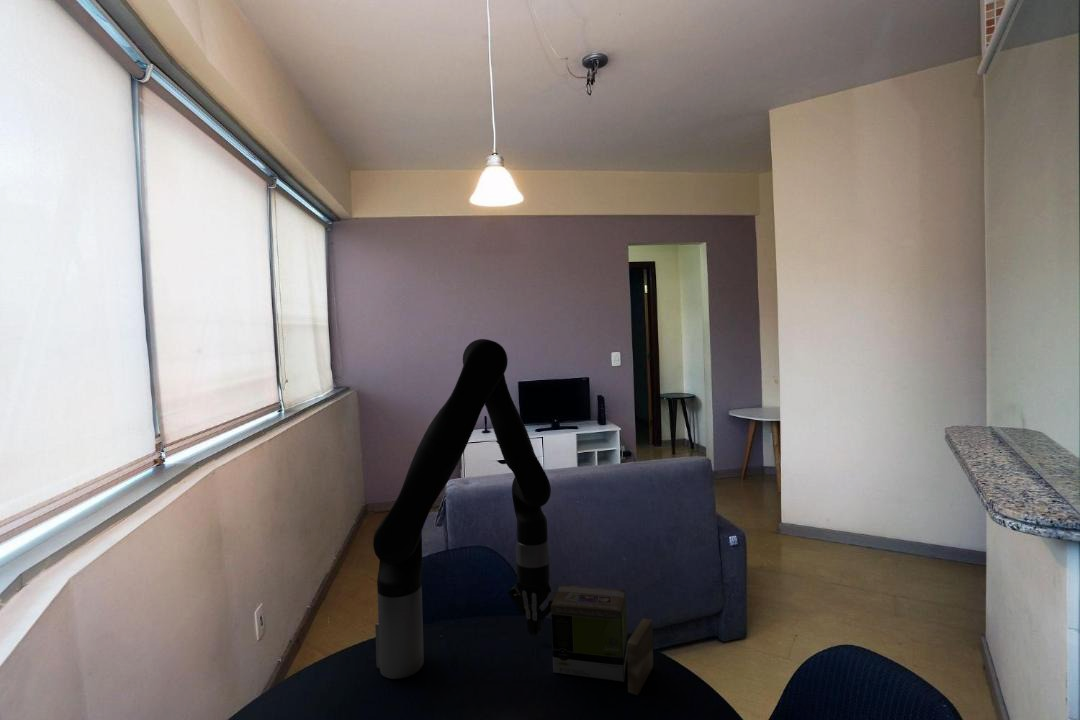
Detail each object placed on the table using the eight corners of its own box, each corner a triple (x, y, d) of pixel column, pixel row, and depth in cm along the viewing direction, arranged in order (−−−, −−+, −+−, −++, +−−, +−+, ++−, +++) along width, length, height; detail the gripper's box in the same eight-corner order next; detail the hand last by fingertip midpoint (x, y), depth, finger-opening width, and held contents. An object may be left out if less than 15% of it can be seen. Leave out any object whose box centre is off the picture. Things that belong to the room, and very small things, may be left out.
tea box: (628, 654, 111) (626, 588, 110) (624, 684, 101) (622, 612, 101) (561, 646, 114) (560, 582, 114) (551, 674, 105) (550, 604, 104)
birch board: (627, 692, 99) (626, 642, 98) (644, 664, 107) (643, 618, 107) (637, 695, 98) (636, 644, 97) (653, 666, 106) (652, 620, 106)
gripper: (499, 560, 115) (501, 634, 115) (550, 571, 108) (552, 650, 109) (516, 548, 121) (518, 619, 122) (565, 558, 115) (567, 633, 115)
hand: (534, 633), depth 115 cm, fingers closed
